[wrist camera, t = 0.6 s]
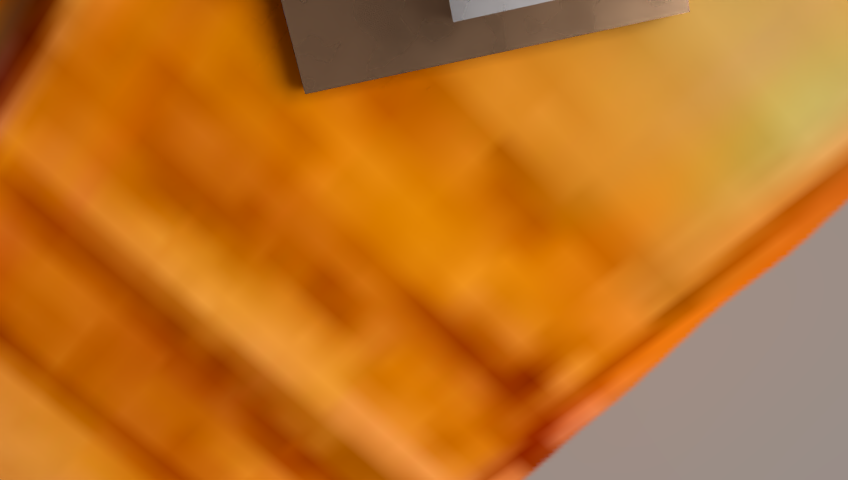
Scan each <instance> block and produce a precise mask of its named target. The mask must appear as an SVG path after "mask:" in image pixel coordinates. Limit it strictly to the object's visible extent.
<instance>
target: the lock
mask: <svg viewBox="0 0 848 480" xmlns="http://www.w3.org/2000/svg"><path fill="white" fill-rule="evenodd" d="M281 2H282V6H283V10H284V14H285V18H286V22H287V26H288V29H289V33H290V37H291V41H292V45H293V49H294V53H295V57H296V60H297V64H298V68H299V72H300V76H301V80H302V84H303V87H304V91H305V94H308V93H312V92H317V91H322V90H326V89H331V88H336V87H340V86H345V85H350V84H354V83H359V82H364V81H368V80H373V79H378V78H382V77H387V76H392V75H396V74H401V73H406V72H410V71H415V70H420V69H425V68H429V67H434V66H439V65H443V64H448V63H453V62H457V61H462V60H467V59H471V58H476V57H481V56H485V55H490V54H495V53H499V52H504V51H509V50H513V49H518V48H523V47H527V46H532V45H537V44H542V43H546V42H551V41H556V40H560V39H565V38H570V37H574V36H579V35H584V34H588V33H593V32H598V31H602V30H607V29H612V28H616V27H621V26H626V25H630V24H635V23H640V22H644V21H649V20H654V19H659V18H663V17H668V16H673V15H677V14H682V13H687V12H690V10H689V1H688V0H281Z"/></svg>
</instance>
